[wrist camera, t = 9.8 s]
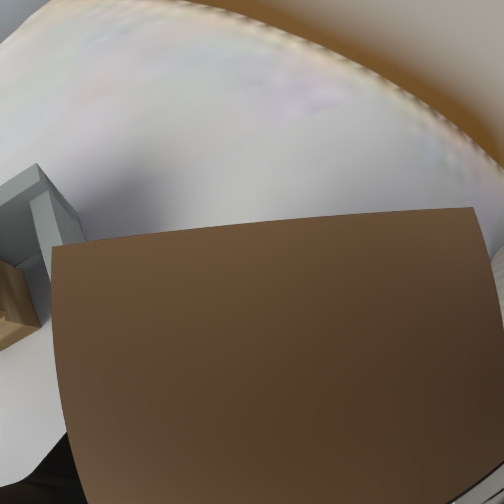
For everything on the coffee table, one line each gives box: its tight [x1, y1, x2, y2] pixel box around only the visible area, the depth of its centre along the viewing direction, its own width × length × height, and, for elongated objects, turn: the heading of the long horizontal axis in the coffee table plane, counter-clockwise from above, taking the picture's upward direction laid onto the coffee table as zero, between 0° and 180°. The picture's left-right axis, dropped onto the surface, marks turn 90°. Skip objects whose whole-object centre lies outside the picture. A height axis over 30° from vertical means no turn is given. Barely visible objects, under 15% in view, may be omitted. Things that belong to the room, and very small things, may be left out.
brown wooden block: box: [51, 207, 504, 504], centre depth 9 cm, size 4×6×13 cm
